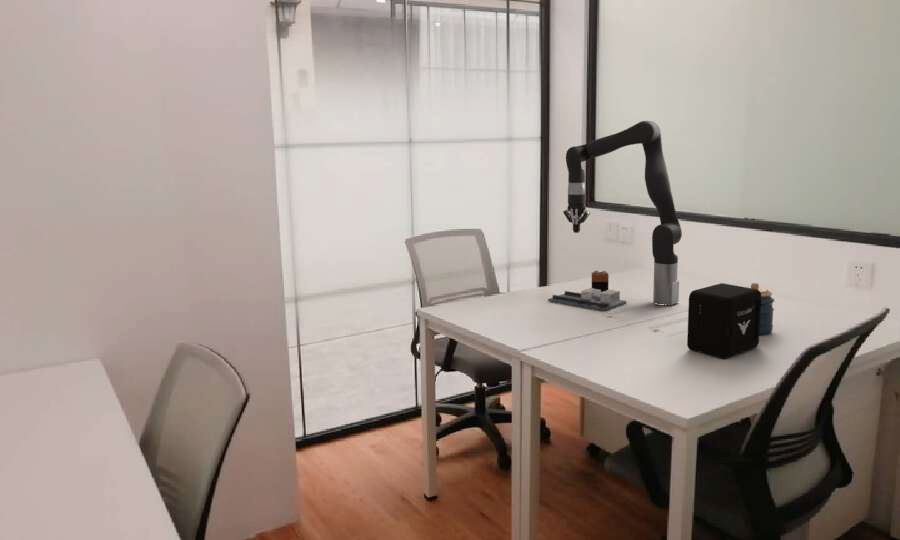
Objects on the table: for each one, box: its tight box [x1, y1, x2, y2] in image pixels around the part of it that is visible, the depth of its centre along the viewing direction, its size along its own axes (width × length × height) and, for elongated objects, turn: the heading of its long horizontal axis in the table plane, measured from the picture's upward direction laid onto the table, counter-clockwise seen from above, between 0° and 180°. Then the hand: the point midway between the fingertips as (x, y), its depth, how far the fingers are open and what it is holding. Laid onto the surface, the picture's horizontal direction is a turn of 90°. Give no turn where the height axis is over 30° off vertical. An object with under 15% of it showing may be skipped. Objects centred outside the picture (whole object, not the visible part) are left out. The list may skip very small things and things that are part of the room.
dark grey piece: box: [547, 289, 627, 313], centre depth 303 cm, size 28×16×6 cm, turn 46°
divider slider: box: [580, 287, 601, 302], centre depth 300 cm, size 5×10×4 cm, turn 136°
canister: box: [746, 282, 775, 337], centre depth 255 cm, size 13×13×18 cm
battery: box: [591, 270, 609, 292], centre depth 319 cm, size 4×7×10 cm, turn 88°
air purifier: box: [686, 282, 761, 359], centre depth 235 cm, size 20×15×20 cm
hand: (576, 232), depth 317 cm, fingers closed
